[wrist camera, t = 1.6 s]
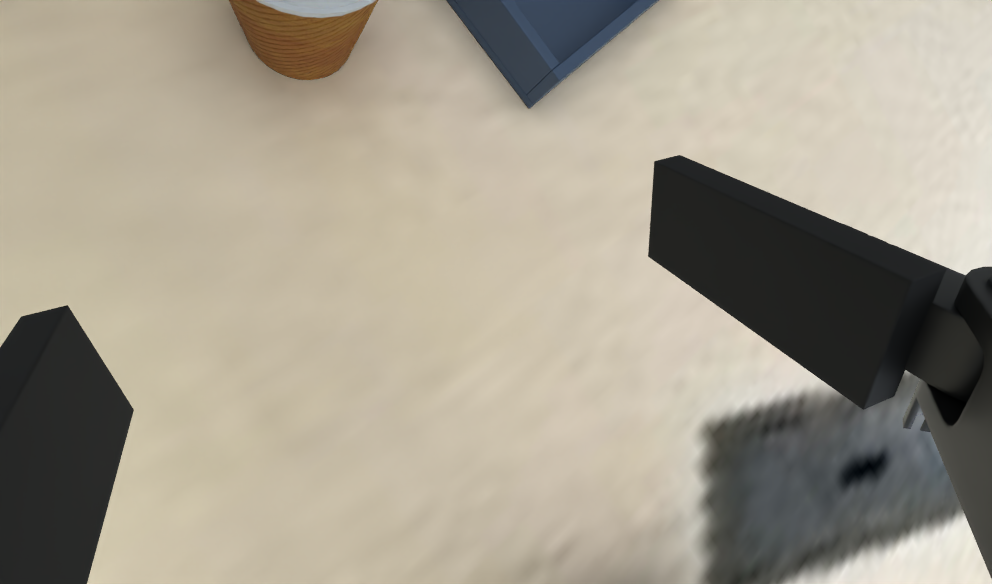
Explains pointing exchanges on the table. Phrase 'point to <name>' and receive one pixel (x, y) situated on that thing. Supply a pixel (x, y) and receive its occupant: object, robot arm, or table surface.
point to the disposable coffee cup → (303, 33)
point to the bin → (544, 36)
